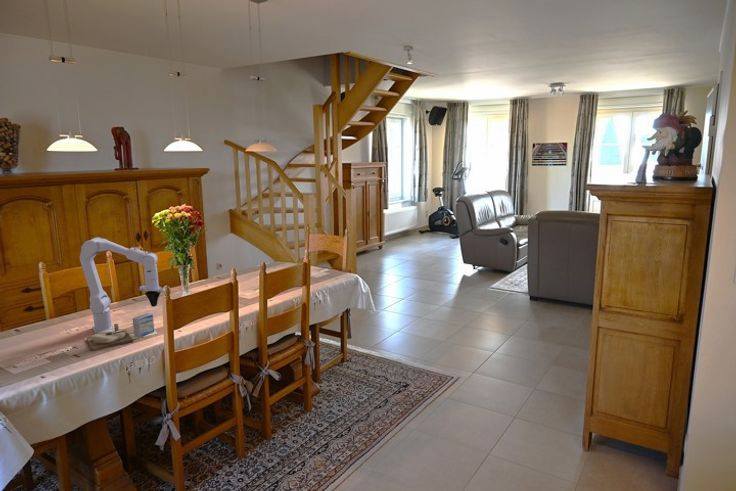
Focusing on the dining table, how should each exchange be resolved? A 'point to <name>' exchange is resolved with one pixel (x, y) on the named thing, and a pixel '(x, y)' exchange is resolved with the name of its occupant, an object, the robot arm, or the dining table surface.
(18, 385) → the dining table surface
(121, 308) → the dining table surface
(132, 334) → the mat
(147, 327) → the medicine box
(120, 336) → the index wheel
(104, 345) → the base board
